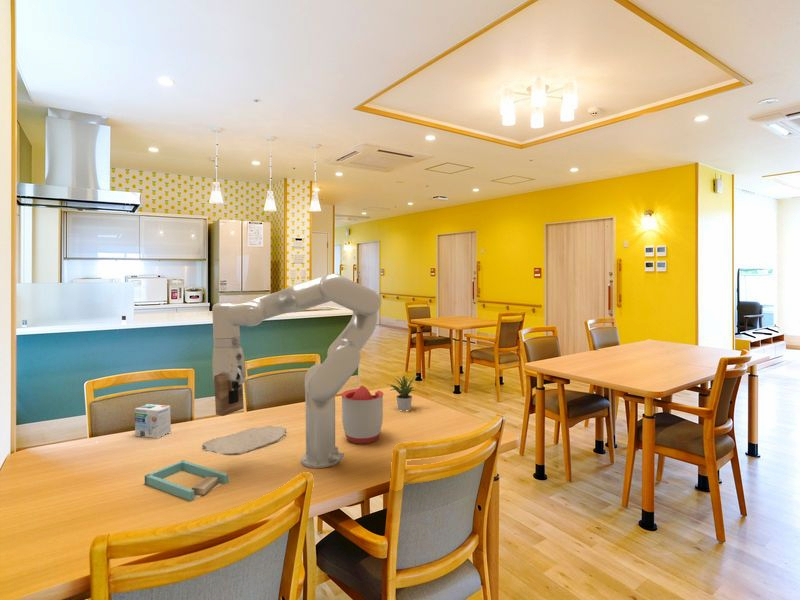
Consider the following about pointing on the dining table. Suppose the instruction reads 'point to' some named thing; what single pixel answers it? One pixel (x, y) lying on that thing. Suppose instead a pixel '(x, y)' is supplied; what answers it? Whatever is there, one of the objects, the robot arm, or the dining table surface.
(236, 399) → the robot arm
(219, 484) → the offcut slab lower
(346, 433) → the citrus juicer
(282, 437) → the stone tablet
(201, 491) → the offcut slab upper
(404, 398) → the house plant
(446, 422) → the dining table surface
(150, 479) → the open frame
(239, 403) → the tall oak sheet
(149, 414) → the light bulb box
